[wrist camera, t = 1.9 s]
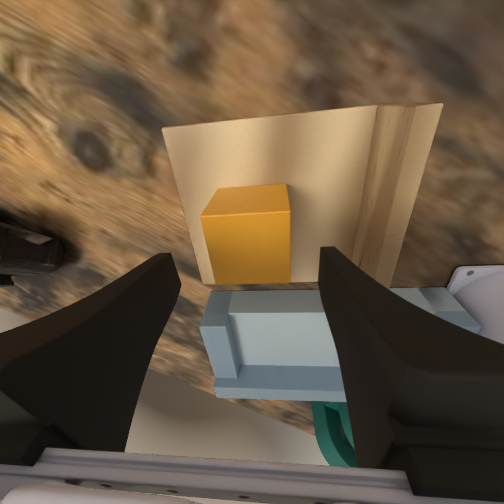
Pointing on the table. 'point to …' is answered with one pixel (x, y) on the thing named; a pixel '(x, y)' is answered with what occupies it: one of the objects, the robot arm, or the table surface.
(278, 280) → the block
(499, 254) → the table surface
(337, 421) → the bracket
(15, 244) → the battery
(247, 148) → the low wooden bench
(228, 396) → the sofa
